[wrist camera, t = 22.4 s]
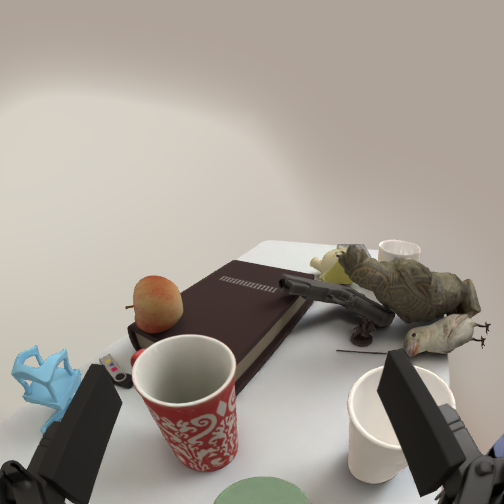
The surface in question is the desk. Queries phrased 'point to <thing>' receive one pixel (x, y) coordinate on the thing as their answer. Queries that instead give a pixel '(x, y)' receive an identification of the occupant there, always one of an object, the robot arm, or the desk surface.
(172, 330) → the book
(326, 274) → the toy
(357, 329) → the figurine
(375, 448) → the cup
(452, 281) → the statue
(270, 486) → the canister
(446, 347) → the decorative bird
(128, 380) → the usb flash drive
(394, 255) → the mug
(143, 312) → the apple
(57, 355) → the chair
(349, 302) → the handgun
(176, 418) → the mug
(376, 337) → the desk surface
